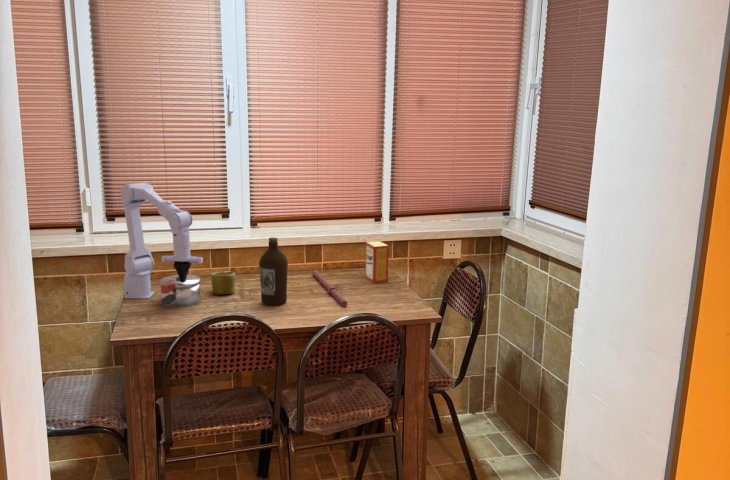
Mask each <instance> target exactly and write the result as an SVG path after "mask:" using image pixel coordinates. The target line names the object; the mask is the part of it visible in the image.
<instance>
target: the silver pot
mask: <svg viewBox="0 0 730 480" xmlns="http://www.w3.org/2000/svg"><path fill="white" fill-rule="evenodd" d="M200 285H201V282H200V283H199V284H198V285H196V286H193V287H188V288H175V289H174V290H172V291H171V292H170V293H168V294H163V293H161V304H162V305H163V306H166V307H168V308H169V307H170V308H185V307H191V306H195V305H197V304H199V303H200V302H201V286H200Z"/></svg>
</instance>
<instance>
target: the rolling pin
mask: <svg viewBox="0 0 730 480" xmlns="http://www.w3.org/2000/svg"><path fill="white" fill-rule="evenodd" d="M311 274H312V275H313V276H314V277H315V278H316V279H317V280H318V281H319V282H320V283H321V284H322V285H323V287H324V288H325V289H326V290H327V293H328V294H329V295H330V296H331V295H332V296H333V298H335V300H336V301H337V302H339V304H340V305H341V306H342V307H347V306H348V302H347V300H346V299H345V298H344V296H342V295H341V294H340V293H339V291H337V288H336V287H335V286H332V285H331V283H330V282H328V281H327V280H326V279H325V278H324V276H322V275H321V274H320V272H319V271H318V270H316V269H313V270H312V272H311Z"/></svg>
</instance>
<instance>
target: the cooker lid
mask: <svg viewBox="0 0 730 480" xmlns="http://www.w3.org/2000/svg"><path fill="white" fill-rule="evenodd" d="M199 283H200V284H201V277H200V276H198V275H197V274H195V275H194V274H188V273H187V278H186V282H180V278H179V275H178V274H173V275H167V276H164V277H162V278H161V279H160V280H159V284H160V293H161V294H162V293H163V294H168V293H170V292H171V291H172V290H174V289H175V288H188V287H193V286H196V285H198V284H199Z"/></svg>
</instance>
